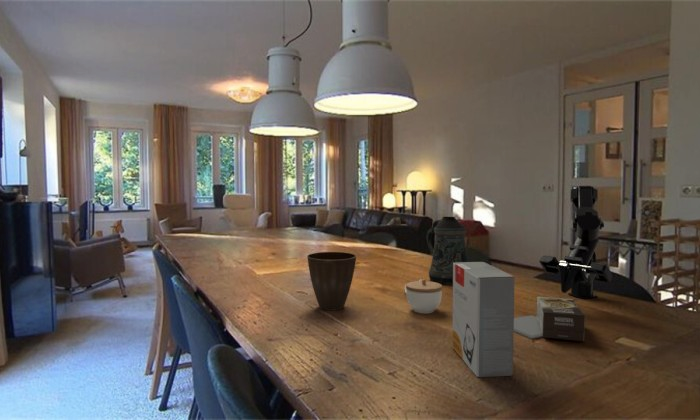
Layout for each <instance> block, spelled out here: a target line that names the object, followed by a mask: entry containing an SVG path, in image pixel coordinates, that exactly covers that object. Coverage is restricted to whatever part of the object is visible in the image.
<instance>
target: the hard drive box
mask: <svg viewBox="0 0 700 420" xmlns="http://www.w3.org/2000/svg"><path fill="white" fill-rule="evenodd" d="M514 318H515V276H514V275H512V274H510V273H508V272H506V271H503V270H501V269H500V268H497V267H495V266H493V265H492V264H491V265H490V264H489V263H488V262H487V263H486V262H484V261H468V262H456V263H453V285H452V333H451V334H452V349H453V350H454V351H455V352H456V354H457V355H458V357H459V358H461V360H462V361H463V363H465V364H466V365H467V367H468V369H469V370H470V371H471V372H472V373H473V374H474V375H475V376H476V377H477V378H486V377H488V378H490V377H508V376H509V377H512V376H513V372H514V369H513V368H514V367H513V366H514V335H515V334H514V333H515V332H514Z"/></svg>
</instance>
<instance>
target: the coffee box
mask: <svg viewBox="0 0 700 420" xmlns="http://www.w3.org/2000/svg"><path fill="white" fill-rule="evenodd" d="M536 299H537V300H536V301H537V302H536V317H537V319H538V322H539V325H540V328H541V332H542V335H543V337H542V338H547V339H558V340H564V341H565V340H566V341H567V340H568V341H576V342H584V341H585V322H586V320H585V319H586V317H585V314H584V313H583V312H582V310H581V309H580V308H579V305H577V303H576V302H575V300H574V299H571V298H559V297H547V296H537V297H536Z"/></svg>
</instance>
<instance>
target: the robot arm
mask: <svg viewBox="0 0 700 420" xmlns="http://www.w3.org/2000/svg"><path fill="white" fill-rule="evenodd" d="M598 191H599V190H598V189H597V188H594V186H592V185H578V186H576V187H575V188H573V189H570V197H569V198H570V199H569V201H570V203H571V204H572V207H571V208H572V210H573V211H574V213H575V214H574V216H572V225H571V226H572V228H571V229H573V230H574V232H575V234H576V239H575V240H574V242H573V244H570V246H569V248H568V249H569V250H570V251H569V253H568V255H564V257H563V260H560V261H558V259H557V257H556V256H552V255H542V256H541V257H540V258H539V261H538V262H539V264H540V265H541V267H542V269H543V270H544V272H545V273H547V274H552V275H557V274H560V287H561V288H560V290H561V293H563V294H566V293H567V292H568V291H571V292H568V293H567V295H569V296H573V297H576V298H578V299H579V298H580V299H583V300H584V299H592V298H598V295H596V294H594V286H595V285H594V283H595V281H598V282H599V283H604V284H610V283H611V281H612V279H613V273H612V272H611V269H610V268H609V266H608V265H607V264H606V263H601V262H599V261H597V255H596V251H595V250H596V249H597V246H598V244H599V242H600V238H599V236H600V235H599V234H600V230H603V229H602V228H604V227H605V223H604V222H603V220H602V219H601V217H599V212H598V210H595V205H596V203H598V197H599V196H598V194H599V193H598ZM564 260H565V261H564ZM594 280H595V281H594Z"/></svg>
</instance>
